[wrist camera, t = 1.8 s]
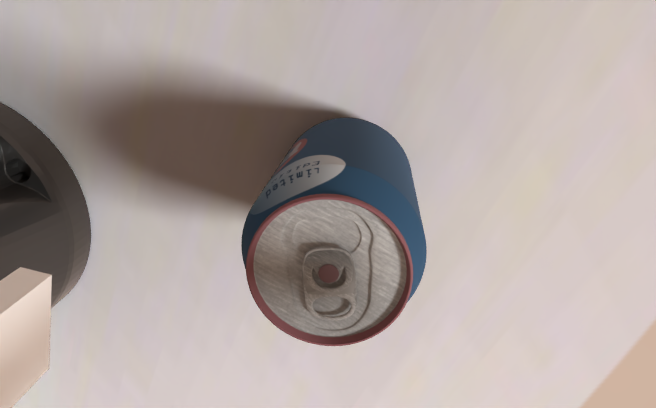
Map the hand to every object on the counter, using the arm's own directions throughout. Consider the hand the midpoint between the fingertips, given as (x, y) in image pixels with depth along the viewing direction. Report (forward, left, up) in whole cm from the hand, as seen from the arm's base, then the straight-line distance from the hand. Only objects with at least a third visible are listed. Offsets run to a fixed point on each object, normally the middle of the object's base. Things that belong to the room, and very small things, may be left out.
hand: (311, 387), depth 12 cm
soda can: (0, 0, -18) cm, 18 cm away
